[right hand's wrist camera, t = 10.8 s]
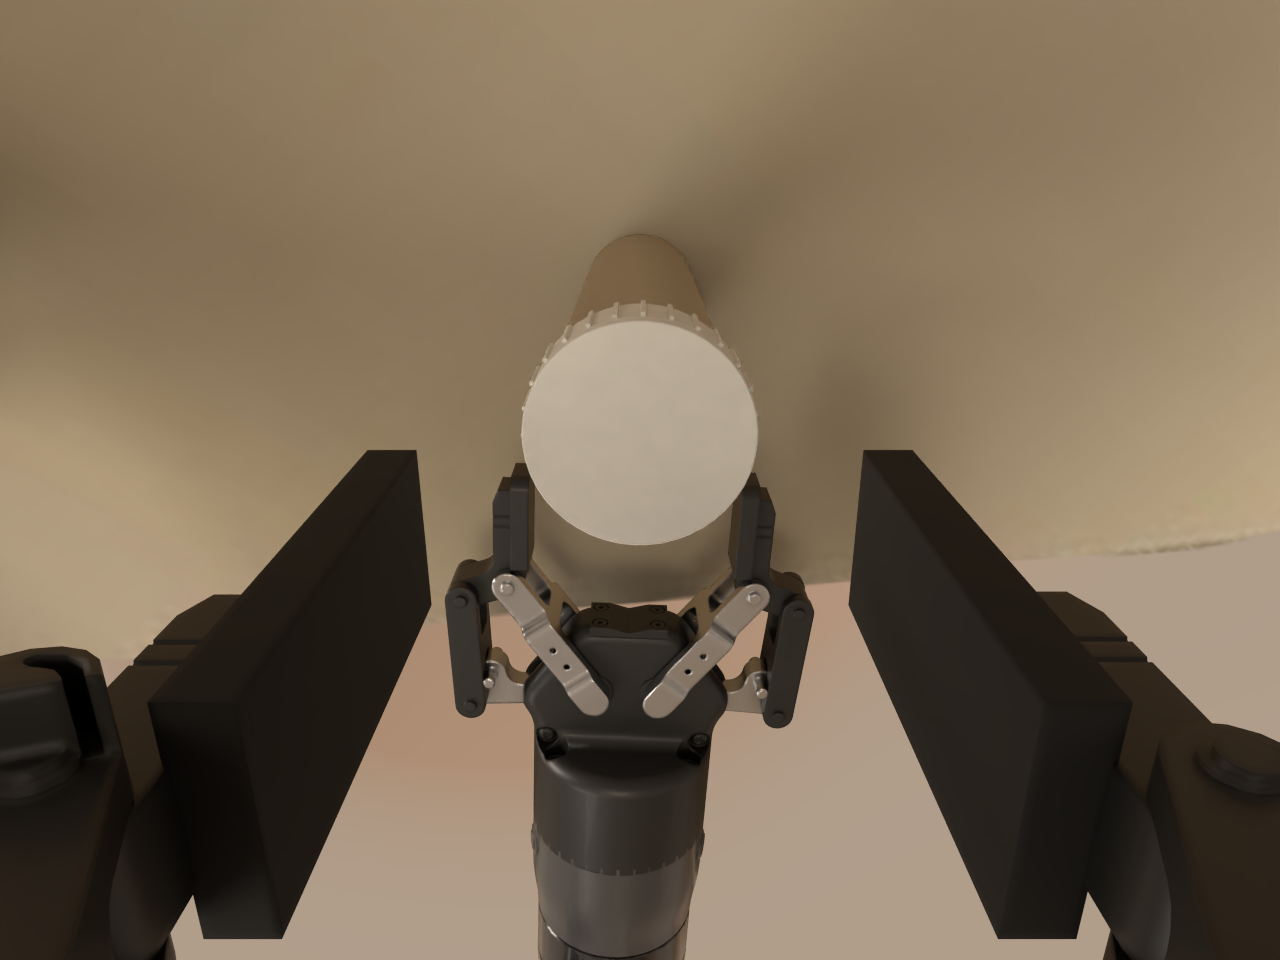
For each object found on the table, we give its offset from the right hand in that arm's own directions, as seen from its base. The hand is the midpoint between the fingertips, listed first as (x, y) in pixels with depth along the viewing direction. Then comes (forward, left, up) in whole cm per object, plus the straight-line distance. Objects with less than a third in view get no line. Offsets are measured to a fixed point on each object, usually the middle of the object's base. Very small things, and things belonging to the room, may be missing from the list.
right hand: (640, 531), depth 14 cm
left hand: (-2, +5, -18) cm, 19 cm away
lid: (0, 0, -5) cm, 5 cm away
